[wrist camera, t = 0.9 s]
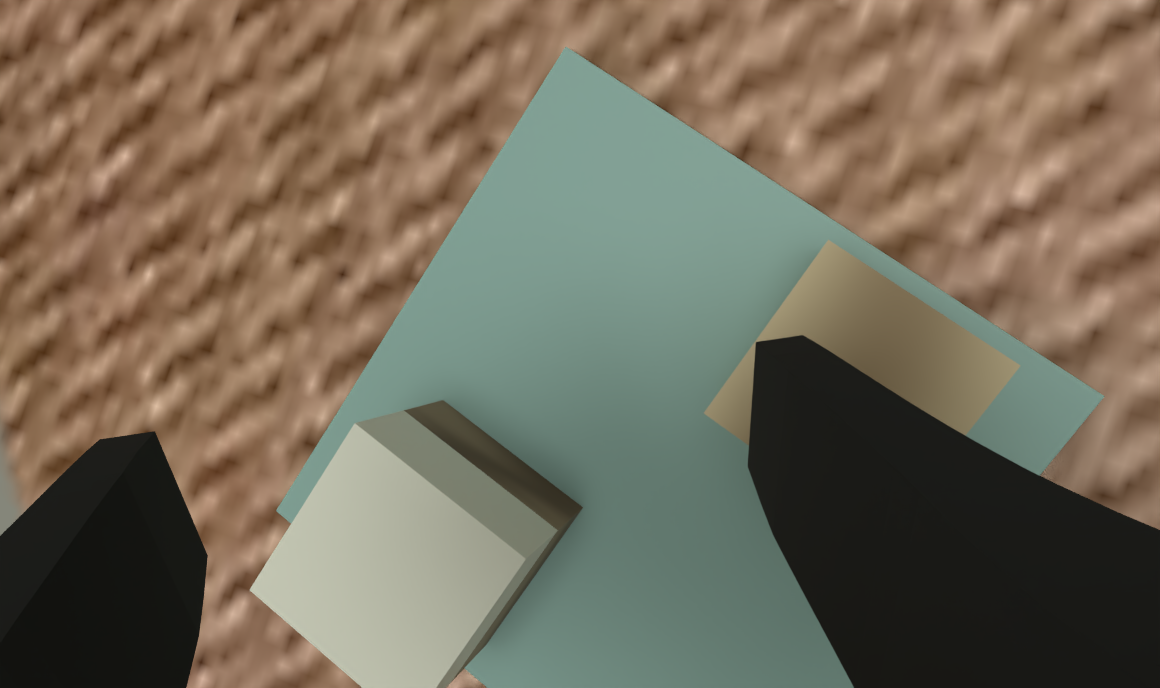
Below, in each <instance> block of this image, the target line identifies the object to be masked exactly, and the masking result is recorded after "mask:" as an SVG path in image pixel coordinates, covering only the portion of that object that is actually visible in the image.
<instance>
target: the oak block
mask: <svg viewBox="0 0 1160 688" xmlns="http://www.w3.org/2000/svg"><path fill="white" fill-rule="evenodd" d="M799 335H804V336H805V337H807V338H809V339H811V340H812V341H814V342H816V343H817V344H819V345H821V346H822V347H824V348H826V349H827V350H829V351H830V352H832V353H833V354H835V355H837V356H838V357H840V358H841V359H843V360H844V361H846V362H847V363H849V364H851V365H852V366H854V367H855V368H857V369H858V370H860V371H861V372H863V373H865V374H866V375H868V376H869V377H871V378H872V379H874V380H875V381H877V382H879V383H880V384H882V385H883V386H885V387H886V388H888V389H889V390H891V391H893V392H894V393H896V394H897V395H899V396H901V397H902V398H904V399H905V400H907V401H909V402H910V403H912V404H913V405H915V406H917V407H918V408H920V409H921V410H923V411H925V412H926V413H928V414H930V415H931V416H933V417H935V418H936V419H938V420H940V421H941V422H943V423H945V424H946V425H948V426H950V427H951V428H953V429H955V430H957V431H958V432H960V433H962V434H963V435H965V436H966V434H967V433H968V432H969V430H970V429H971V428H972V427H973V425H974V424H975V423H976V422H977V420H978V419H979V418H980V417H981V415H982V414H983V413H984V412H985V410H986V409H987V408H988V406H989V405H990V404H991V403H992V401H993V400H994V399H995V398H996V396H997V395H998V394H999V393H1000V391H1001V390H1002V389H1003V388H1004V386H1005V385H1006V384H1007V382H1008V381H1009V380H1010V379H1011V377H1012V376H1013V375H1014V374H1015V372H1016V371H1017V370H1018V369H1019V367H1020V366H1021V365H1019V364H1017V363H1016V362H1014V361H1013V360H1011V359H1010V358H1008V357H1007V356H1005V355H1004V354H1002V353H1001V352H999V351H998V350H996V349H995V348H993V347H991V346H990V345H988V344H987V343H985V342H984V341H982V340H981V339H979V338H978V337H976V336H975V335H973V334H972V333H970V332H969V331H967V330H966V329H964V328H962V327H961V326H959V325H958V324H956V323H955V322H953V321H952V320H950V319H949V318H947V317H946V316H944V315H943V314H941V313H940V312H938V311H937V310H935V309H933V308H932V307H930V306H929V305H927V304H926V303H924V302H923V301H921V300H920V299H918V298H917V297H915V296H914V295H912V294H911V293H909V292H907V291H906V290H904V289H903V288H901V287H900V286H898V285H897V284H895V283H894V282H892V281H891V280H889V279H888V278H886V277H885V276H883V275H882V274H880V273H878V272H877V271H875V270H874V269H872V268H871V267H869V266H868V265H866V264H865V263H863V262H862V261H860V260H859V259H857V258H856V257H854V256H853V255H851V254H849V253H848V252H846V251H845V250H843V249H842V248H840V247H839V246H837V245H836V244H834V243H833V242H831V241H830V240H828V241H827V242H826V244H825V245H824V246H823V248H822V249H821V250H820V252H819V253H818V255H817V256H816V257H815V259H814V260H813V262H812V263H811V264H810V266H809V267H808V269H807V270H806V271H805V273H804V274H803V276H802V277H801V278H800V280H799V281H798V282H797V284H796V285H795V287H794V288H793V289H792V291H791V292H790V294H789V295H788V296H787V298H786V299H785V301H784V302H783V303H782V305H781V306H780V308H779V309H778V310H777V312H776V313H775V314H774V316H773V317H772V319H771V320H770V321H769V323H768V324H767V326H766V327H765V328H764V330H763V331H762V333H761V334H760V335H759V337H758V338H757V340H756V341H755V342H754V344H753V345H752V346H751V348H750V349H749V351H748V352H747V353H746V355H745V356H744V358H743V359H742V360H741V362H740V363H739V365H738V366H737V367H736V369H735V370H734V372H733V373H732V374H731V376H730V377H729V378H728V380H727V381H726V383H725V384H724V385H723V387H722V388H721V390H720V391H719V392H718V394H717V395H716V397H715V398H714V399H713V401H712V402H711V404H710V405H709V406H708V408H707V409H706V410H705V412H704V414H705V415H707V416H708V417H710V418H711V419H712V420H714V421H715V422H717V423H718V424H719V425H721V426H722V427H723V428H725V429H726V430H728V431H729V432H730V433H732V434H733V435H735V436H736V437H737V438H739V439H740V440H742V441H743V442H744V443H746V444H747V445H748V446H749V437H750V422H751V407H752V392H753V377H754V362H755V347H756V342H759V341H766V340H773V339H779V338H786V337H793V336H799Z"/></svg>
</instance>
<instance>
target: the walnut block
mask: <svg viewBox="0 0 1160 688" xmlns="http://www.w3.org/2000/svg"><path fill="white" fill-rule="evenodd" d="M404 411H405V412H407V413H408V414H409V415H410V416H412V417H413V418H414V419H416V420H417V421H418V422H419V423H421V424H422V425H423V426H425V427H426V428H427V429H428V430H430V431H431V432H432V433H434V434H435V435H436V436H437V437H439V438H440V439H441V440H442V441H444V442H445V443H446V444H448V445H449V446H450V447H451V448H453V449H454V450H455V451H457V452H458V453H459V454H460V455H462V456H463V457H464V458H466V459H467V460H468V461H469V462H471V463H472V464H473V465H475V466H476V467H477V468H478V469H480V470H481V471H482V472H484V473H485V474H486V475H487V476H489V477H490V478H491V479H493V480H494V481H495V482H496V483H498V484H499V485H500V486H502V487H503V488H504V489H505V490H507V491H508V492H509V493H511V494H512V495H513V496H514V497H516V498H517V499H518V500H520V501H521V502H522V503H523V504H525V505H526V506H527V507H529V508H530V509H531V510H532V511H534V512H535V513H536V514H538V515H539V516H540V517H541V518H543V519H544V520H545V521H546V522H548V523H549V524H550V525H552V526H553V527H554V528H555V529H557V530H558V531H557V532H556V534H555V535H554V536H553V538H552V539H551V541H550V542H549V544H548V545H547V546H546V548H545V549H544V551H543V552H542V554H541V555H540V556H539V558H538V559H537V561H536V562H535V564H534V565H533V566H532V568H531V569H530V571H529V572H528V573H527V575H526V576H525V578H524V579H523V581H522V582H521V583H520V585H519V586H518V588H517V589H516V591H515V592H514V593H513V595H512V596H511V598H510V599H509V601H508V602H507V603H506V605H505V606H504V608H503V609H502V611H501V612H500V613H499V615H498V616H497V618H496V619H495V620H494V622H493V623H492V625H491V626H490V628H489V629H488V630H487V632H486V633H485V635H484V636H483V638H482V639H481V640H480V642H479V643H478V645H477V646H476V648H475V649H474V650H473V652H472V653H471V655H470V656H469V657H468V659H467V660H466V662H465V663H464V665H463V666H462V667H461V669H460V670H459V672H458V673H457V675H458V674H459V673H460V672H461V671H462V670H463V669H464V668H465V667H466V666H467V665H468V664H469V663H470V662H471V660H472V659H473V658H474V657H475V656H476V655H477V654H478V653H479V652H480V651H481V650H482V649H483V648H484V647H485V646H486V645H487V643H488V642H489V640H490V639H491V637H492V636H493V635H494V633H495V632H496V630H497V629H498V628H499V626H500V625H501V623H502V622H503V620H504V619H505V618H506V616H507V615H508V613H509V612H510V610H511V609H512V608H513V606H514V605H515V603H516V602H517V601H518V599H519V598H520V596H521V595H522V593H523V592H524V591H525V589H526V588H527V586H528V585H529V584H530V582H531V581H532V579H533V578H534V576H535V575H536V574H537V572H538V571H539V569H540V568H541V566H542V565H543V564H544V562H545V561H546V559H547V558H548V557H549V555H550V554H551V552H552V551H553V549H554V548H555V547H556V545H557V544H558V542H559V541H560V540H561V538H562V537H563V535H564V534H565V532H566V531H567V530H568V528H569V527H570V525H571V524H572V522H573V521H574V520H575V518H576V517H577V515H578V514H579V513H580V511H581V510H582V508H583V507H582V506H581V505H579V504H578V503H577V502H575V501H574V500H573V499H571V498H570V497H569V496H568V495H566V494H565V493H564V492H562V491H561V490H560V489H558V488H557V487H556V486H554V485H553V484H552V483H551V482H549V481H548V480H547V479H545V478H544V477H543V476H541V475H540V474H539V473H538V472H536V471H535V470H534V469H532V468H531V467H530V466H528V465H527V464H526V463H525V462H523V461H522V460H521V459H519V458H518V457H517V456H515V455H514V454H513V453H512V452H510V451H509V450H508V449H506V448H505V447H504V446H502V445H501V444H500V443H498V442H497V441H496V440H495V439H493V438H492V437H491V436H489V435H488V434H487V433H485V432H484V431H483V430H482V429H480V428H479V427H478V426H476V425H475V424H474V423H472V422H471V421H470V420H469V419H467V418H466V417H465V416H463V415H462V414H461V413H459V412H458V411H457V410H455V409H454V408H453V407H452V406H450V405H449V404H448V403H446V402H445V401H444V400H441V401H437V402H434V403H430V404H426V405H422V406H418V407H414V408H411V409H407V410H404ZM457 675H456V676H457ZM456 676H455V677H456ZM455 677H454V679H455ZM454 679H453V680H454ZM453 680H452V681H453Z"/></svg>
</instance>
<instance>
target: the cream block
mask: <svg viewBox="0 0 1160 688" xmlns="http://www.w3.org/2000/svg"><path fill="white" fill-rule="evenodd" d="M557 531H558V530H557V529H555V528H554V527H553V526H552V525H550V524H549V523H548V522H546V521H545V520H544V519H543V518H541V517H540V516H539V515H538V514H536V513H535V512H534V511H532V510H531V509H530V508H529V507H527V506H526V505H525V504H523V503H522V502H521V501H520V500H518V499H517V498H516V497H514V496H513V495H512V494H511V493H509V492H508V491H507V490H505V489H504V488H503V487H502V486H500V485H499V484H498V483H496V482H495V481H494V480H493V479H491V478H490V477H489V476H487V475H486V474H485V473H484V472H482V471H481V470H480V469H478V468H477V467H476V466H475V465H473V464H472V463H471V462H469V461H468V460H467V459H466V458H464V457H463V456H462V455H460V454H459V453H458V452H457V451H455V450H454V449H453V448H451V447H450V446H449V445H448V444H446V443H445V442H444V441H442V440H441V439H440V438H439V437H437V436H436V435H435V434H434V433H432V432H431V431H430V430H428V429H427V428H426V427H425V426H423V425H422V424H421V423H419V422H418V421H417V420H416V419H414V418H413V417H412V416H410V415H409V414H408V413H407V412H405V411H404V410H403V411H399V412H395V413H391V414H388V415H384V416H380V417H376V418H372V419H368V420H365V421H361V422H357V423H354V425H353V427H352V428H351V430H350V431H349V433H348V434H347V436H346V438H345V439H344V441H343V442H342V444H341V446H340V447H339V449H338V450H337V452H336V454H335V455H334V457H333V458H332V460H331V461H330V463H329V465H328V466H327V468H326V469H325V471H324V473H323V474H322V476H321V477H320V479H319V481H318V482H317V484H316V485H315V487H314V488H313V490H312V492H311V493H310V495H309V496H308V498H307V500H306V501H305V503H304V504H303V506H302V508H301V509H300V511H299V512H298V514H297V515H296V517H295V519H294V520H293V522H292V523H291V525H290V527H289V528H288V530H287V531H286V533H285V534H284V536H283V538H282V539H281V541H280V542H279V544H278V546H277V547H276V549H275V550H274V552H273V554H272V555H271V557H270V558H269V560H268V561H267V563H266V565H265V566H264V568H263V569H262V571H261V573H260V574H259V576H258V577H257V579H256V581H255V582H254V584H253V585H252V587H251V588H250V591H251V592H252V593H254V594H255V595H256V596H257V597H258V598H259V599H260V600H262V601H263V602H264V603H265V604H266V605H267V606H269V607H270V608H271V609H272V610H273V611H274V612H276V613H277V614H278V615H279V616H280V617H281V618H282V619H284V620H285V621H286V622H287V623H288V624H289V625H291V626H292V627H293V628H294V629H295V630H296V631H297V632H299V633H300V634H301V635H302V636H303V637H304V638H306V639H307V640H308V641H309V642H310V643H311V644H312V645H314V646H315V647H316V648H317V649H318V650H319V651H321V652H322V653H323V654H324V655H325V656H326V657H328V658H329V659H330V660H331V661H332V662H333V663H334V664H336V665H337V666H338V667H339V668H340V669H341V670H343V671H344V672H345V673H346V674H347V675H348V676H349V677H351V678H352V679H353V680H354V681H355V682H356V683H358V684H359V685H360V686H361V687H362V688H446V687H447V686H448V685H449V684H450V683H451V682H452V680H453V679H454V677H455V676H456V675H457V673H458V672H459V670H460V669H461V667H462V666H463V665H464V663H465V662H466V660H467V659H468V657H469V656H470V655H471V653H472V652H473V650H474V649H475V648H476V646H477V645H478V643H479V642H480V640H481V639H482V638H483V636H484V635H485V633H486V632H487V630H488V629H489V628H490V626H491V625H492V623H493V622H494V620H495V619H496V618H497V616H498V615H499V613H500V612H501V611H502V609H503V608H504V606H505V605H506V603H507V602H508V601H509V599H510V598H511V596H512V595H513V593H514V592H515V591H516V589H517V588H518V586H519V585H520V583H521V582H522V581H523V579H524V578H525V576H526V575H527V573H528V572H529V571H530V569H531V568H532V566H533V565H534V564H535V562H536V561H537V559H538V558H539V556H540V555H541V554H542V552H543V551H544V549H545V548H546V546H547V545H548V544H549V542H550V541H551V539H552V538H553V536H554V535H555V534H556V532H557Z"/></svg>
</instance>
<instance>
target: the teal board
mask: <svg viewBox="0 0 1160 688" xmlns="http://www.w3.org/2000/svg"><path fill="white" fill-rule="evenodd" d="M828 240H830V241H831V242H833V243H834V244H836V245H837V246H839V247H840V248H842V249H843V250H845V251H846V252H848V253H849V254H851V255H853V256H854V257H856V258H857V259H859V260H860V261H862V262H863V263H865V264H866V265H868V266H869V267H871V268H872V269H874V270H875V271H877V272H878V273H880V274H882V275H883V276H885V277H886V278H888V279H889V280H891V281H892V282H894V283H895V284H897V285H898V286H900V287H901V288H903V289H904V290H906V291H907V292H909V293H911V294H912V295H914V296H915V297H917V298H918V299H920V300H921V301H923V302H924V303H926V304H927V305H929V306H930V307H932V308H933V309H935V310H937V311H938V312H940V313H941V314H943V315H944V316H946V317H947V318H949V319H950V320H952V321H953V322H955V323H956V324H958V325H959V326H961V327H962V328H964V329H966V330H967V331H969V332H970V333H972V334H973V335H975V336H976V337H978V338H979V339H981V340H982V341H984V342H985V343H987V344H988V345H990V346H991V347H993V348H995V349H996V350H998V351H999V352H1001V353H1002V354H1004V355H1005V356H1007V357H1008V358H1010V359H1011V360H1013V361H1014V362H1016V363H1017V364H1019V365H1021V366H1020V367H1019V369H1018V370H1017V371H1016V372H1015V374H1014V375H1013V376H1012V377H1011V379H1010V380H1009V381H1008V382H1007V384H1006V385H1005V386H1004V388H1003V389H1002V390H1001V391H1000V393H999V394H998V395H997V396H996V398H995V399H994V400H993V401H992V403H991V404H990V405H989V406H988V408H987V409H986V410H985V412H984V413H983V414H982V415H981V417H980V418H979V419H978V420H977V422H976V423H975V424H974V425H973V427H972V428H971V429H970V430H969V432H968V433H967V434H966V436H967V437H969V438H970V439H972V440H974V441H976V442H977V443H979V444H981V445H983V446H985V447H987V448H989V449H990V450H992V451H994V452H996V453H998V454H1000V455H1001V456H1003V457H1005V458H1007V459H1009V460H1011V461H1012V462H1014V463H1016V464H1018V465H1020V466H1022V467H1023V468H1025V469H1027V470H1029V471H1031V472H1033V473H1035V474H1037V475H1039V476H1040V475H1041V473H1042V472H1043V471H1044V470H1045V468H1046V467H1047V466H1048V465H1049V464H1050V462H1051V461H1052V460H1053V459H1054V457H1055V456H1056V455H1057V454H1058V453H1059V451H1060V450H1061V449H1062V448H1063V446H1064V445H1065V444H1066V443H1067V442H1068V440H1069V439H1070V438H1071V437H1072V435H1073V434H1074V433H1075V432H1076V431H1077V429H1078V428H1079V427H1080V426H1081V424H1082V423H1083V422H1084V421H1085V420H1086V418H1087V417H1088V416H1089V415H1090V413H1091V412H1092V411H1093V410H1094V409H1095V407H1096V406H1097V405H1098V404H1099V402H1100V401H1101V400H1102V399H1103V398H1104V396H1103V395H1102V394H1100V393H1099V392H1097V391H1096V390H1094V389H1092V388H1091V387H1089V386H1088V385H1086V384H1085V383H1083V382H1082V381H1080V380H1079V379H1077V378H1075V377H1074V376H1072V375H1071V374H1069V373H1068V372H1066V371H1065V370H1063V369H1062V368H1060V367H1059V366H1057V365H1055V364H1054V363H1052V362H1051V361H1049V360H1048V359H1046V358H1045V357H1043V356H1042V355H1040V354H1039V353H1037V352H1035V351H1034V350H1032V349H1031V348H1029V347H1028V346H1026V345H1025V344H1023V343H1022V342H1020V341H1018V340H1017V339H1015V338H1014V337H1012V336H1011V335H1009V334H1008V333H1006V332H1005V331H1003V330H1002V329H1000V328H998V327H997V326H995V325H994V324H992V323H991V322H989V321H988V320H986V319H985V318H983V317H982V316H980V315H978V314H977V313H975V312H974V311H972V310H971V309H969V308H968V307H966V306H965V305H963V304H961V303H960V302H958V301H957V300H955V299H954V298H952V297H951V296H949V295H948V294H946V293H945V292H943V291H941V290H940V289H938V288H937V287H935V286H934V285H932V284H931V283H929V282H928V281H926V280H925V279H923V278H921V277H920V276H918V275H917V274H915V273H914V272H912V271H911V270H909V269H908V268H906V267H905V266H903V265H901V264H900V263H898V262H897V261H895V260H894V259H892V258H891V257H889V256H888V255H886V254H884V253H883V252H881V251H880V250H878V249H877V248H875V247H874V246H872V245H871V244H869V243H868V242H866V241H864V240H863V239H861V238H860V237H858V236H857V235H855V234H854V233H852V232H851V231H849V230H848V229H846V228H844V227H843V226H841V225H840V224H838V223H837V222H835V221H834V220H832V219H831V218H829V217H827V216H826V215H824V214H823V213H821V212H820V211H818V210H817V209H815V208H814V207H812V206H811V205H809V204H807V203H806V202H804V201H803V200H801V199H800V198H798V197H797V196H795V195H794V194H792V193H791V192H789V191H787V190H786V189H784V188H783V187H781V186H780V185H778V184H777V183H775V182H774V181H772V180H771V179H769V178H767V177H766V176H764V175H763V174H761V173H760V172H758V171H757V170H755V169H754V168H752V167H750V166H749V165H747V164H746V163H744V162H743V161H741V160H740V159H738V158H737V157H735V156H734V155H732V154H730V153H729V152H727V151H726V150H724V149H723V148H721V147H720V146H718V145H717V144H715V143H714V142H712V141H710V140H709V139H707V138H706V137H704V136H703V135H701V134H700V133H698V132H697V131H695V130H693V129H692V128H690V127H689V126H687V125H686V124H684V123H683V122H681V121H680V120H678V119H677V118H675V117H673V116H672V115H670V114H669V113H667V112H666V111H664V110H663V109H661V108H660V107H658V106H657V105H655V104H653V103H652V102H650V101H649V100H647V99H646V98H644V97H643V96H641V95H640V94H638V93H637V92H635V91H633V90H632V89H630V88H629V87H627V86H626V85H624V84H623V83H621V82H620V81H618V80H616V79H615V78H613V77H612V76H610V75H609V74H607V73H606V72H604V71H603V70H601V69H600V68H598V67H596V66H595V65H593V64H592V63H590V62H589V61H587V60H586V59H584V58H583V57H581V56H580V55H578V54H576V53H575V52H573V51H572V50H570V49H569V48H567V47H565V49H564V50H563V52H562V53H561V55H560V57H559V58H558V60H557V61H556V63H555V65H554V66H553V68H552V69H551V71H550V73H549V74H548V76H547V77H546V79H545V81H544V82H543V84H542V85H541V87H540V89H539V90H538V92H537V93H536V95H535V97H534V98H533V100H532V101H531V103H530V105H529V106H528V108H527V109H526V111H525V113H524V114H523V116H522V117H521V119H520V121H519V122H518V124H517V125H516V127H515V129H514V130H513V132H512V134H511V135H510V137H509V138H508V140H507V142H506V143H505V145H504V146H503V148H502V150H501V151H500V153H499V154H498V156H497V158H496V159H495V161H494V162H493V164H492V166H491V167H490V169H489V170H488V172H487V174H486V175H485V177H484V178H483V180H482V182H481V183H480V185H479V186H478V188H477V190H476V191H475V193H474V194H473V196H472V198H471V199H470V201H469V202H468V204H467V206H466V207H465V209H464V210H463V212H462V214H461V215H460V217H459V218H458V220H457V222H456V223H455V225H454V226H453V228H452V230H451V231H450V233H449V235H448V236H447V238H446V239H445V241H444V243H443V244H442V246H441V247H440V249H439V251H438V252H437V254H436V255H435V257H434V259H433V260H432V262H431V263H430V265H429V267H428V268H427V270H426V271H425V273H424V275H423V276H422V278H421V279H420V281H419V283H418V284H417V286H416V287H415V289H414V291H413V292H412V294H411V295H410V297H409V299H408V300H407V302H406V303H405V305H404V307H403V308H402V310H401V311H400V313H399V315H398V316H397V318H396V319H395V321H394V323H393V324H392V326H391V327H390V329H389V331H388V332H387V334H386V336H385V337H384V339H383V340H382V342H381V344H380V345H379V347H378V348H377V350H376V352H375V353H374V355H373V356H372V358H371V360H370V361H369V363H368V364H367V366H366V368H365V369H364V371H363V372H362V374H361V376H360V377H359V379H358V380H357V382H356V384H355V385H354V387H353V388H352V390H351V392H350V393H349V395H348V396H347V398H346V400H345V401H344V403H343V404H342V406H341V408H340V409H339V411H338V412H337V414H336V416H335V417H334V419H333V420H332V422H331V424H330V425H329V427H328V428H327V430H326V432H325V433H324V435H323V436H322V438H321V440H320V441H319V443H318V445H317V446H316V448H315V449H314V451H313V453H312V454H311V456H310V457H309V459H308V461H307V462H306V464H305V465H304V467H303V469H302V470H301V472H300V473H299V475H298V477H297V478H296V480H295V481H294V483H293V485H292V486H291V488H290V489H289V491H288V493H287V494H286V496H285V497H284V499H283V501H282V502H281V504H280V505H279V507H278V509H277V510H276V511H277V512H278V513H279V514H281V515H282V516H283V517H284V518H285V519H286V520H288V521H289V522H290V523H292V522H293V520H294V519H295V517H296V515H297V514H298V512H299V511H300V509H301V508H302V506H303V504H304V503H305V501H306V500H307V498H308V496H309V495H310V493H311V492H312V490H313V488H314V487H315V485H316V484H317V482H318V481H319V479H320V477H321V476H322V474H323V473H324V471H325V469H326V468H327V466H328V465H329V463H330V461H331V460H332V458H333V457H334V455H335V454H336V452H337V450H338V449H339V447H340V446H341V444H342V442H343V441H344V439H345V438H346V436H347V434H348V433H349V431H350V430H351V428H352V427H353V425H354V423H357V422H361V421H365V420H368V419H372V418H376V417H380V416H384V415H388V414H391V413H395V412H399V411H403V410H407V409H411V408H414V407H418V406H422V405H426V404H430V403H434V402H437V401H441V400H444V401H445V402H446V403H448V404H449V405H450V406H452V407H453V408H454V409H455V410H457V411H458V412H459V413H461V414H462V415H463V416H465V417H466V418H467V419H469V420H470V421H471V422H472V423H474V424H475V425H476V426H478V427H479V428H480V429H482V430H483V431H484V432H485V433H487V434H488V435H489V436H491V437H492V438H493V439H495V440H496V441H497V442H498V443H500V444H501V445H502V446H504V447H505V448H506V449H508V450H509V451H510V452H512V453H513V454H514V455H515V456H517V457H518V458H519V459H521V460H522V461H523V462H525V463H526V464H527V465H528V466H530V467H531V468H532V469H534V470H535V471H536V472H538V473H539V474H540V475H541V476H543V477H544V478H545V479H547V480H548V481H549V482H551V483H552V484H553V485H554V486H556V487H557V488H558V489H560V490H561V491H562V492H564V493H565V494H566V495H568V496H569V497H570V498H571V499H573V500H574V501H575V502H577V503H578V504H579V505H581V506H582V507H583V508H582V510H581V511H580V513H579V514H578V515H577V517H576V518H575V520H574V521H573V522H572V524H571V525H570V527H569V528H568V530H567V531H566V532H565V534H564V535H563V537H562V538H561V540H560V541H559V542H558V544H557V545H556V547H555V548H554V549H553V551H552V552H551V554H550V555H549V557H548V558H547V559H546V561H545V562H544V564H543V565H542V566H541V568H540V569H539V571H538V572H537V574H536V575H535V576H534V578H533V579H532V581H531V582H530V584H529V585H528V586H527V588H526V589H525V591H524V592H523V593H522V595H521V596H520V598H519V599H518V601H517V602H516V603H515V605H514V606H513V608H512V609H511V610H510V612H509V613H508V615H507V616H506V618H505V619H504V620H503V622H502V623H501V625H500V626H499V628H498V629H497V630H496V632H495V633H494V635H493V636H492V637H491V639H490V640H489V642H488V643H487V645H486V646H485V647H484V648H483V649H482V650H481V651H480V652H479V653H478V654H477V655H476V656H475V657H474V658H473V659H472V660H471V662H470V663H469V664H468V665H467V666H466V667H465V669H466V670H467V671H468V672H469V673H471V674H472V675H473V676H474V677H475V678H477V679H478V680H479V681H480V682H481V683H483V684H484V685H485V686H486V687H487V688H854V687H853V685H852V683H851V681H850V679H849V677H848V676H847V674H846V672H845V670H844V668H843V666H842V664H841V662H840V661H839V659H838V657H837V655H836V653H835V651H834V649H833V647H832V646H831V644H830V642H829V640H828V638H827V636H826V634H825V633H824V631H823V629H822V627H821V625H820V623H819V621H818V619H817V618H816V616H815V614H814V612H813V610H812V608H811V606H810V605H809V603H808V601H807V599H806V597H805V595H804V593H803V591H802V590H801V588H800V586H799V584H798V582H797V580H796V578H795V576H794V574H793V572H792V571H791V569H790V567H789V565H788V563H787V561H786V559H785V557H784V555H783V553H782V551H781V550H780V548H779V546H778V544H777V542H776V540H775V538H774V536H773V534H772V531H771V528H770V526H769V523H768V521H767V518H766V516H765V513H764V510H763V508H762V505H761V503H760V500H759V497H758V494H757V491H756V489H755V486H754V483H753V480H752V477H751V475H750V472H749V469H748V452H749V446H748V445H747V444H746V443H744V442H743V441H742V440H740V439H739V438H737V437H736V436H735V435H733V434H732V433H730V432H729V431H728V430H726V429H725V428H723V427H722V426H721V425H719V424H718V423H717V422H715V421H714V420H712V419H711V418H710V417H708V416H707V415H705V414H704V412H705V410H706V409H707V408H708V406H709V405H710V404H711V402H712V401H713V399H714V398H715V397H716V395H717V394H718V392H719V391H720V390H721V388H722V387H723V385H724V384H725V383H726V381H727V380H728V378H729V377H730V376H731V374H732V373H733V372H734V370H735V369H736V367H737V366H738V365H739V363H740V362H741V360H742V359H743V358H744V356H745V355H746V353H747V352H748V351H749V349H750V348H751V346H752V345H753V344H754V342H755V341H756V340H757V338H758V337H759V335H760V334H761V333H762V331H763V330H764V328H765V327H766V326H767V324H768V323H769V321H770V320H771V319H772V317H773V316H774V314H775V313H776V312H777V310H778V309H779V308H780V306H781V305H782V303H783V302H784V301H785V299H786V298H787V296H788V295H789V294H790V292H791V291H792V289H793V288H794V287H795V285H796V284H797V282H798V281H799V280H800V278H801V277H802V276H803V274H804V273H805V271H806V270H807V269H808V267H809V266H810V264H811V263H812V262H813V260H814V259H815V257H816V256H817V255H818V253H819V252H820V250H821V249H822V248H823V246H824V245H825V244H826V242H827V241H828Z"/></svg>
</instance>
